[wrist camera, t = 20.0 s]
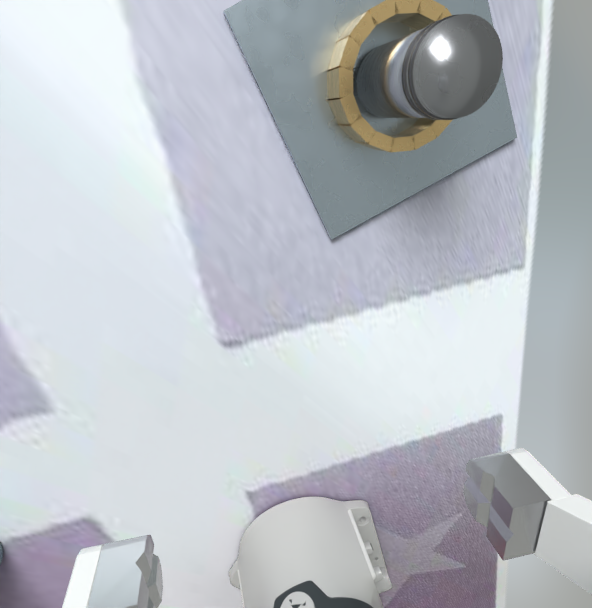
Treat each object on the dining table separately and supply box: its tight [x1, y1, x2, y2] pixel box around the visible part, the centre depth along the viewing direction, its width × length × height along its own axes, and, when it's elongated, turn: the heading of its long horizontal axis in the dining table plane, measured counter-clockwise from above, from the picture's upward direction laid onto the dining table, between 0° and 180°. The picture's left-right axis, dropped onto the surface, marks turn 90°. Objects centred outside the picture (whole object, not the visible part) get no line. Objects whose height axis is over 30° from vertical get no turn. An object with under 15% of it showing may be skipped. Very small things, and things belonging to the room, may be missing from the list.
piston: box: [357, 14, 503, 120], centre depth 28 cm, size 5×5×10 cm
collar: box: [224, 0, 517, 240], centre depth 31 cm, size 18×18×4 cm
